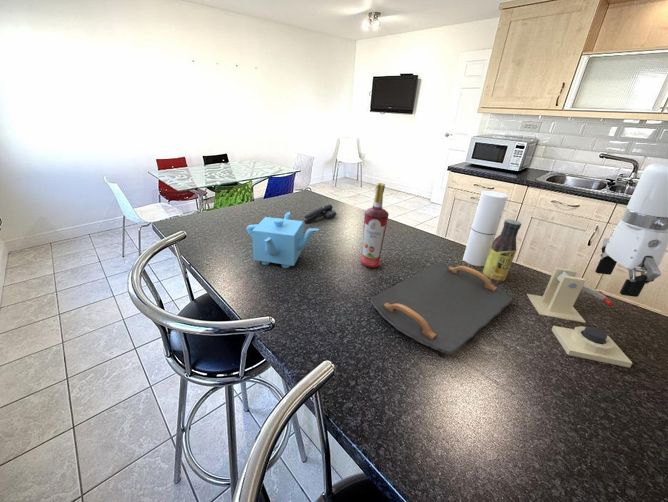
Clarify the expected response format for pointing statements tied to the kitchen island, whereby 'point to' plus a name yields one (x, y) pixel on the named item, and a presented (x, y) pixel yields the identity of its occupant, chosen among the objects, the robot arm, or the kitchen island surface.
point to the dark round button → (594, 335)
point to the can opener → (320, 213)
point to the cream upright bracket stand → (560, 296)
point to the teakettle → (278, 240)
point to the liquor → (374, 230)
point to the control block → (590, 347)
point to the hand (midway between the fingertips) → (614, 283)
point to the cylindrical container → (484, 227)
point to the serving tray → (442, 306)
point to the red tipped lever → (591, 291)
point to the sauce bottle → (502, 252)
